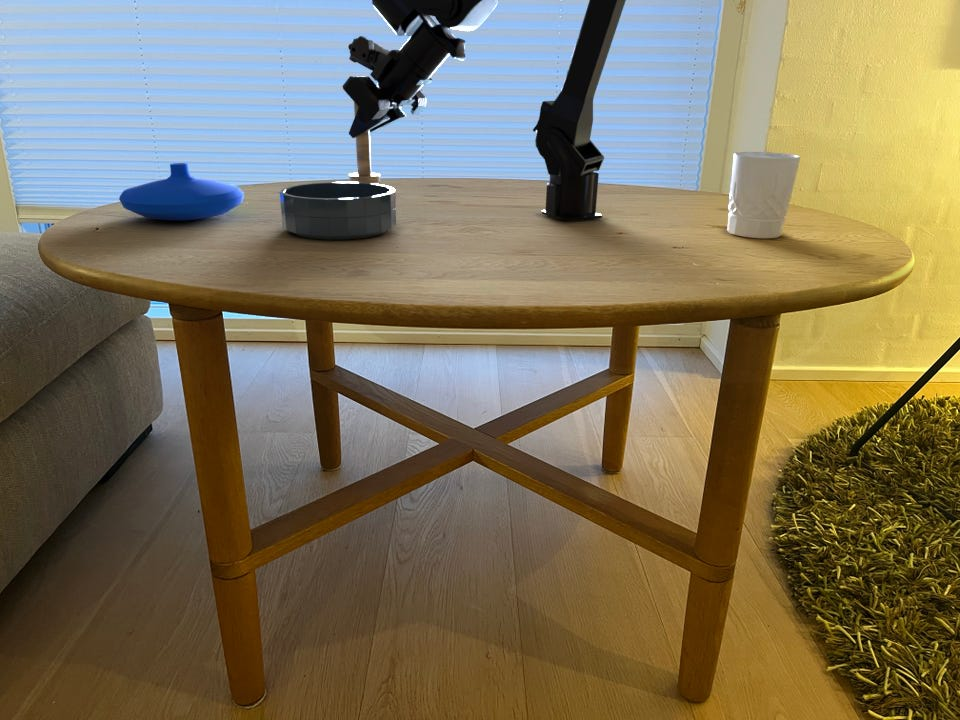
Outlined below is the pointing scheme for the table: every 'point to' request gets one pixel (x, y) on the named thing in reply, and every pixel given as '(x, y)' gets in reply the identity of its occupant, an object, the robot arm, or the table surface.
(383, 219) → the bowl
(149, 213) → the vase
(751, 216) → the white cup
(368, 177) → the stirring stick
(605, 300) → the table surface
